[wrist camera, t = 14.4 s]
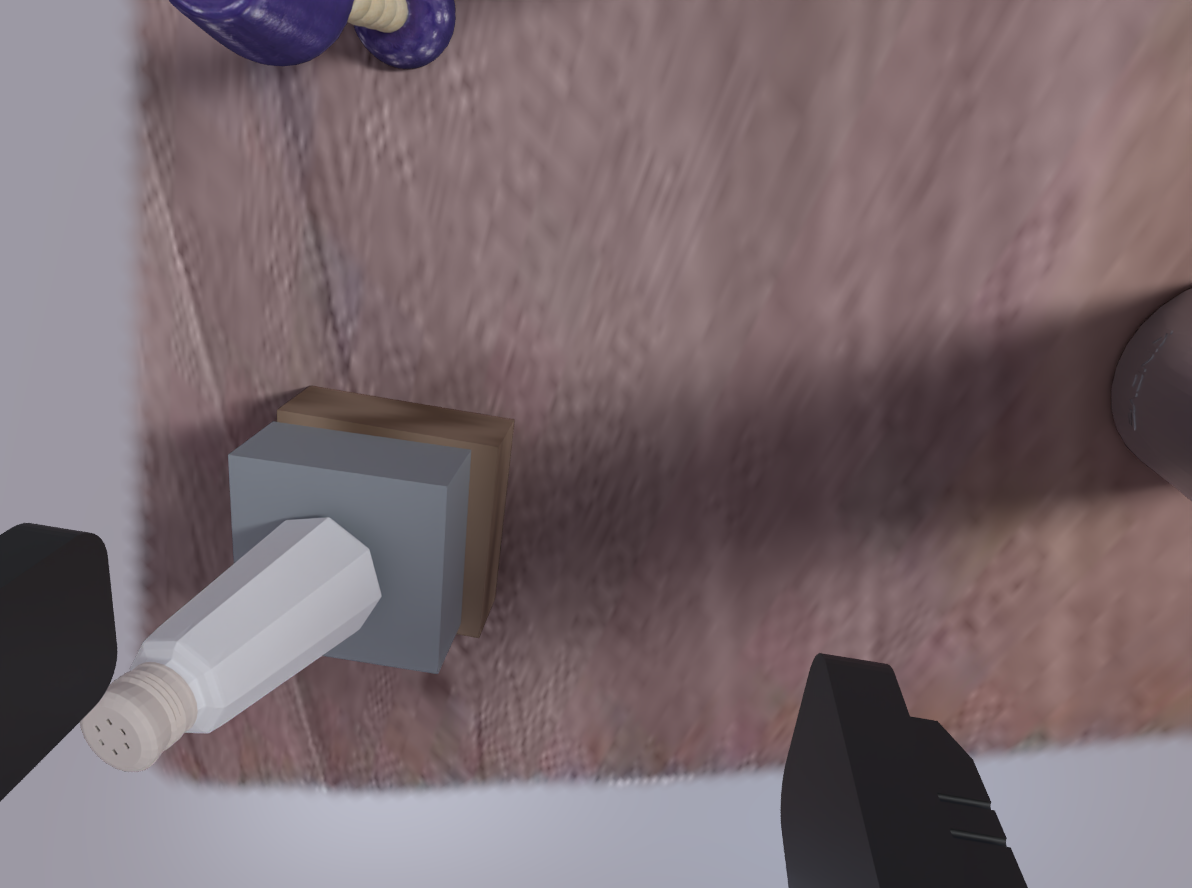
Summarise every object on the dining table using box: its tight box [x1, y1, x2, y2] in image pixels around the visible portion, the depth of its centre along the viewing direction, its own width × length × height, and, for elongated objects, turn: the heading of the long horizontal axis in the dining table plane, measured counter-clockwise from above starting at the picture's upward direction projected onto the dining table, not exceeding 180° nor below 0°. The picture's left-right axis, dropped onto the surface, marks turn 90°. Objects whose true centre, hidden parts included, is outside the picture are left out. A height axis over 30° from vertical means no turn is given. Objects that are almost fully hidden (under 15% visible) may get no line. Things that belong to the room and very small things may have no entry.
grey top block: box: [228, 422, 471, 674], centre depth 38 cm, size 9×9×4 cm
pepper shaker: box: [80, 517, 382, 772], centre depth 31 cm, size 5×5×11 cm
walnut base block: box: [277, 386, 514, 638], centre depth 42 cm, size 10×10×4 cm
